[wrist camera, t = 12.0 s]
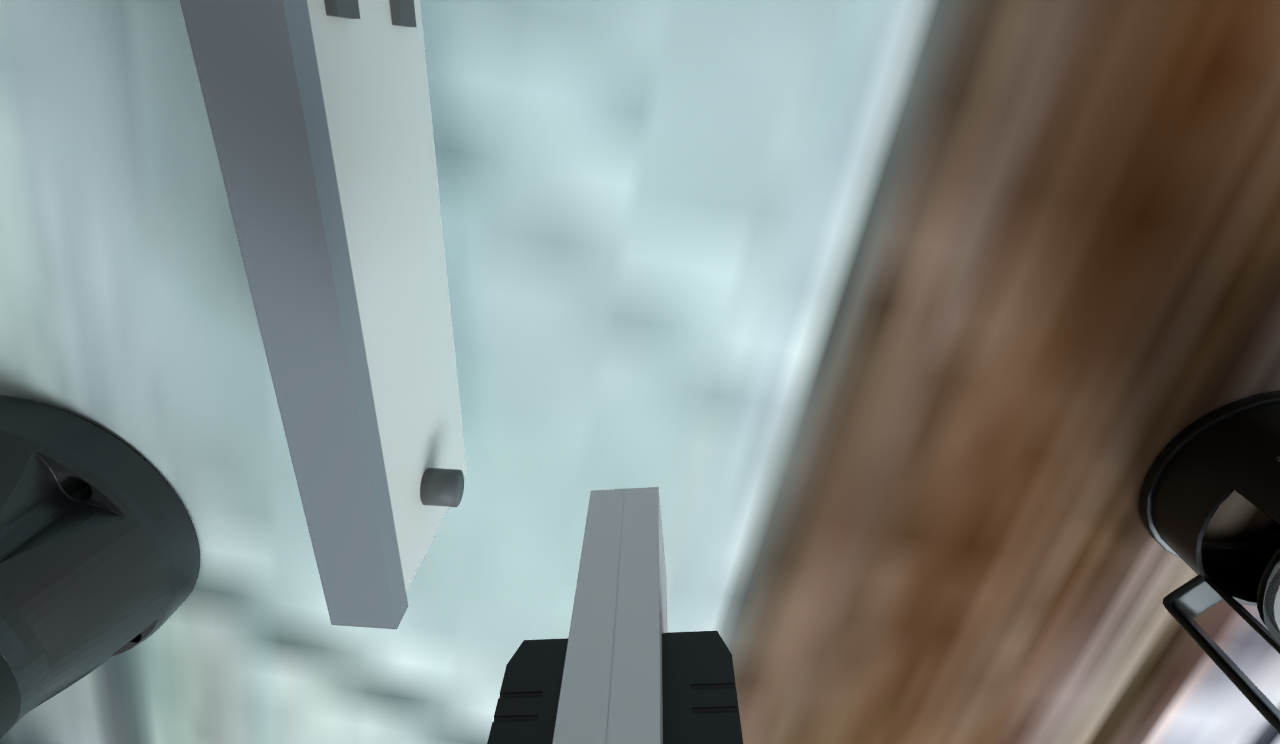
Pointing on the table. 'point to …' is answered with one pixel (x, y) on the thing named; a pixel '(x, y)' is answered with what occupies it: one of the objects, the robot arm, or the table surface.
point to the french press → (1186, 501)
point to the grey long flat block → (343, 272)
